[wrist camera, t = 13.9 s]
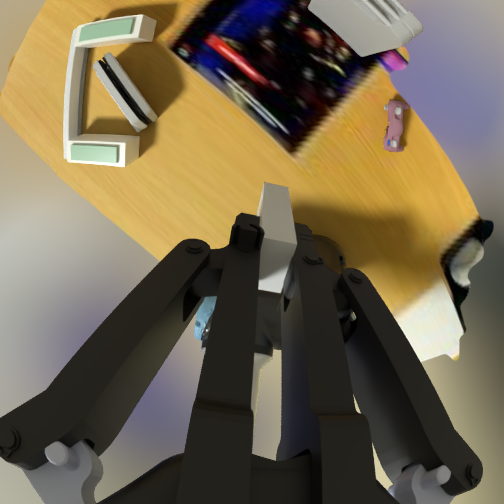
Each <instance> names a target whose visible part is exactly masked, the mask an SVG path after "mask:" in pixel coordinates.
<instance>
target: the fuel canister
mask: <svg viewBox="0 0 504 504" xmlns="http://www.w3.org/2000/svg"><path fill="white" fill-rule="evenodd" d="M391 1H392V2H393V3H394V4H395V5H396V6H395V5H394V4H393V3H392V2H391ZM391 1H390V0H311V2H310V4H309V6H308V9H309V10H310V11H311V12H313V13H314V14H315V15H316V16H317V17H319V18H320V19H321V20H322V21H323V22H325V23H326V24H327V25H328V26H329V27H330V28H331V29H333V30H334V31H335V32H336V33H337V34H338V35H339V36H340V37H341V38H342V39H343V40H344V41H345V42H346V43H348V44H349V45H350V46H351V47H352V48H353V49H354V50H355V51H356V53H357V54H358V55H360V56H361V57H364V56H367V55H371V54H374V53H378V52H382V51H386V50H390V49H394V48H398V47H402V46H404V45H405V44H406V43H407V42H409V41H410V40H411V39H412V38H414V37H415V36H417V35H418V34H419V33H420V32H422V31H423V26H422V24H421V23H420V22H419V20H418V19H417V18H416V17H415V16H414V15H413V14H412V12H410V11H408V10H407V9H406V8H405V7H404V6H403V5H402V4H401V3H400V2H399V1H398V0H391Z"/></svg>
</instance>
